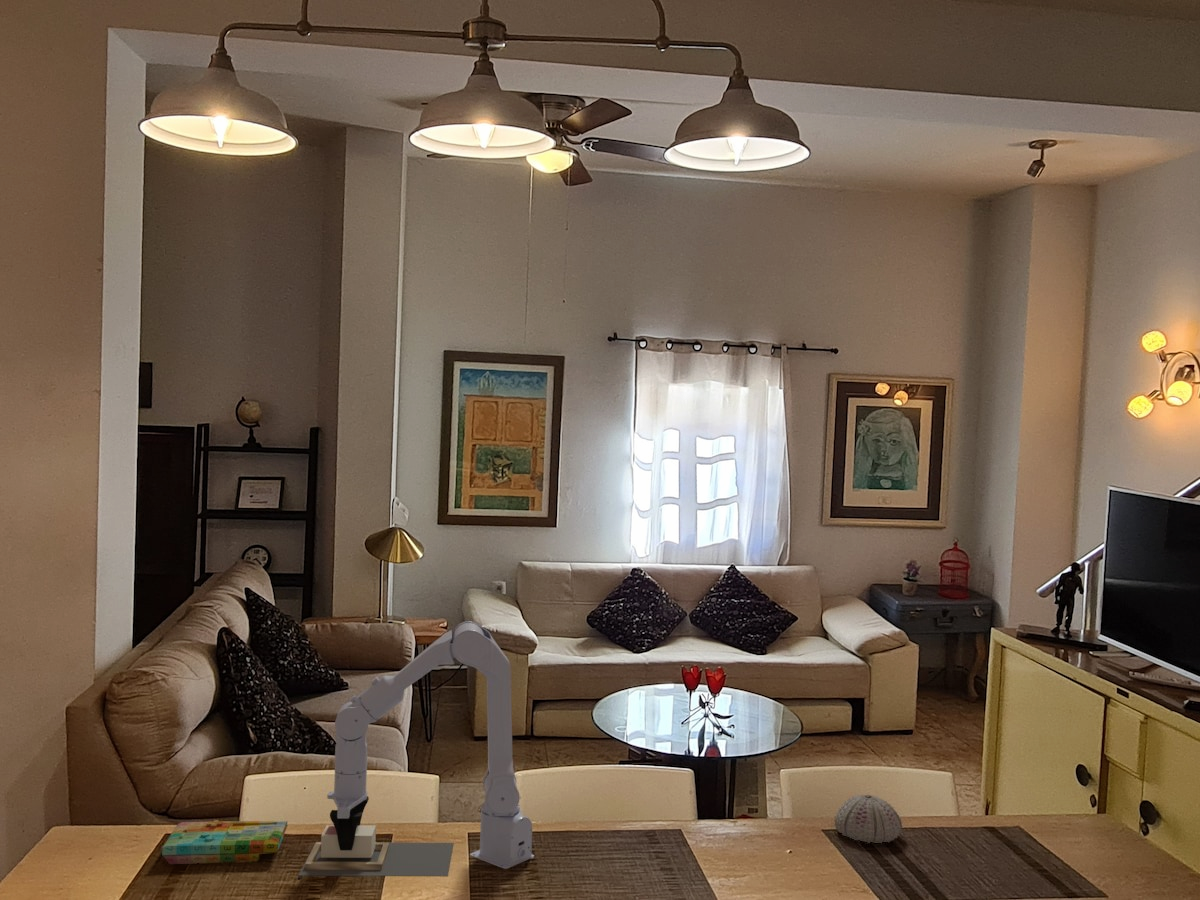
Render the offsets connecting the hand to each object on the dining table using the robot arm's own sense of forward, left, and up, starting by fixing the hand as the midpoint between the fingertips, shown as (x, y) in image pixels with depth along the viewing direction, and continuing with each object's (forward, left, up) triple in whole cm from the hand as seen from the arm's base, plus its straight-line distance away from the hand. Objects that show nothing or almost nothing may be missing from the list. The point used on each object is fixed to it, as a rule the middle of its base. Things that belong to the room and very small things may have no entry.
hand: (348, 843), depth 193 cm
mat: (-4, -4, -3) cm, 7 cm away
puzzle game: (+19, +13, -4) cm, 23 cm away
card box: (0, 0, -2) cm, 2 cm away
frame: (0, 0, -3) cm, 3 cm away
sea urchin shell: (-66, -78, -4) cm, 103 cm away
